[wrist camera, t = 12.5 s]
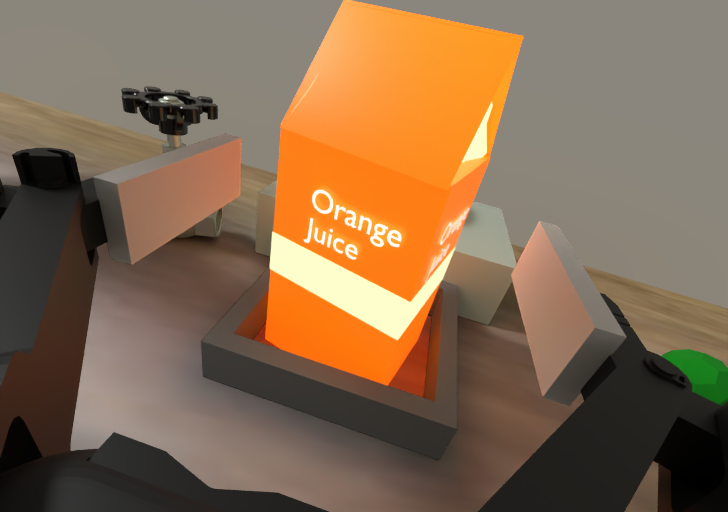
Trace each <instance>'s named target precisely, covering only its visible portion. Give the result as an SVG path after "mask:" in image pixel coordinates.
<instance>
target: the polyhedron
mask: <svg viewBox="0 0 728 512" xmlns="http://www.w3.org/2000/svg"><path fill="white" fill-rule="evenodd" d="M661 357H663V358H665V359H667V360H668V361H670V362H671V363H673V364H674V365H675V366H677V367H678V368H679V369H680V370H681V371H682V372H683V373H684V374H685V375H686V376H687V377H688V378H689V380H690V382H691V383H692V392H694V393H696V394H698V395H701V396H703V397H705V398H707V399H709V400H711V401H713V402H715V403H717V404H719V405H721V406H723V405H724V404H725V403H726V402H728V368H727V367H726V366H725V365H724V363H723V362H722V361H720V360H718V359H715V358H713V357H711V356H709V355H707V354H705V353H701V352H697V351H694V350H690V349H688V350H672V351H670V352H668V353H665V354H663V355H662V356H661Z"/></svg>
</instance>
